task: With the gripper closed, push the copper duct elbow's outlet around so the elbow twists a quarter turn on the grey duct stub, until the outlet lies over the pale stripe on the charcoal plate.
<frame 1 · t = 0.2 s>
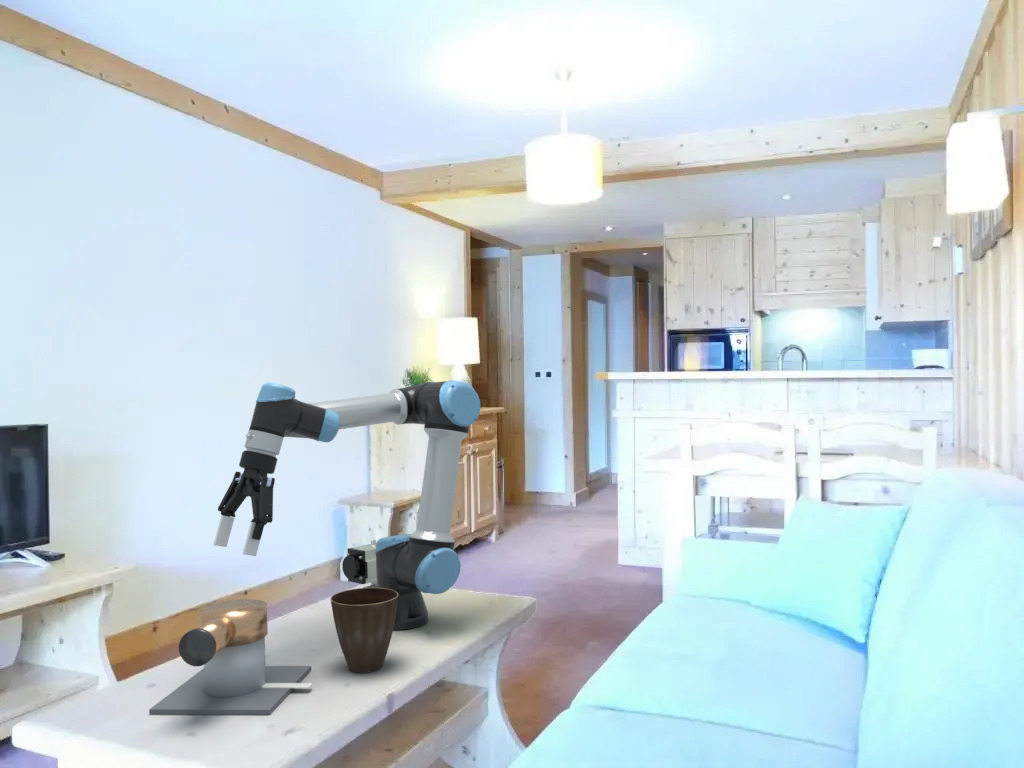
hand: (234, 550, 166), 29 cm above the table, tool tilted 20°, fingers open, 13 cm apart
ball valve: (376, 601, 232), on the table
copper elbow: (223, 629, 158), point 14 cm above the table, hinge at 0.0°
plant pot: (366, 668, 175), on the table
duct stub: (235, 690, 163), on the table
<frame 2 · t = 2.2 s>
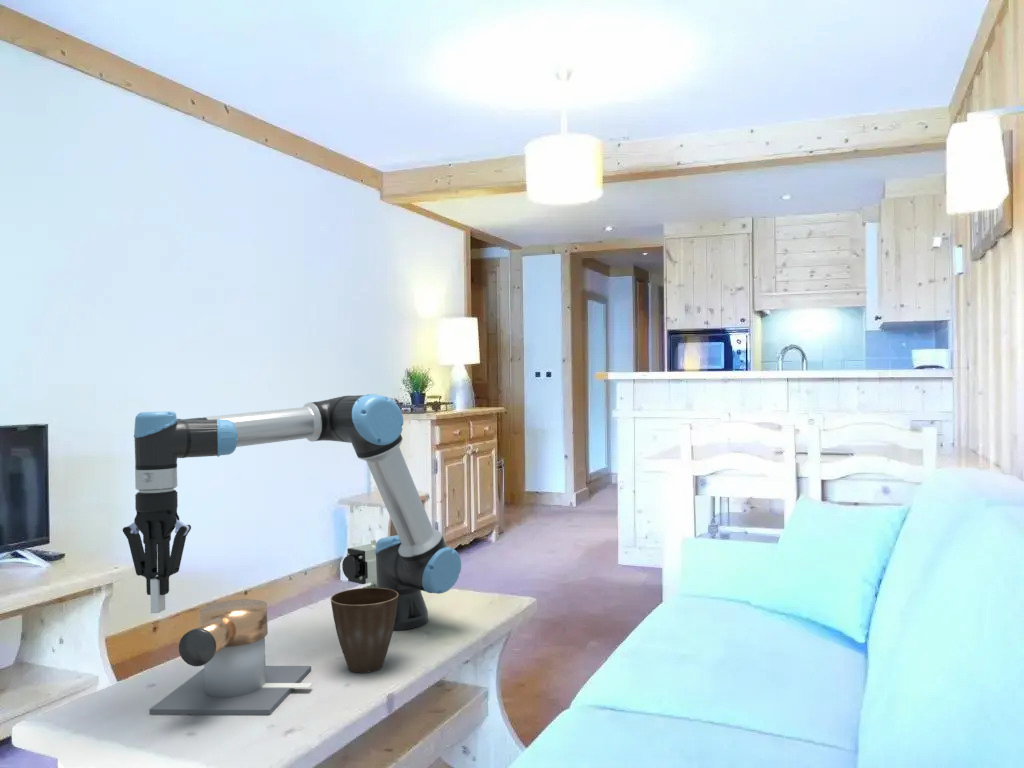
hand: (158, 611, 153), 20 cm above the table, tool pointing down, fingers closed
nothing on the table moved.
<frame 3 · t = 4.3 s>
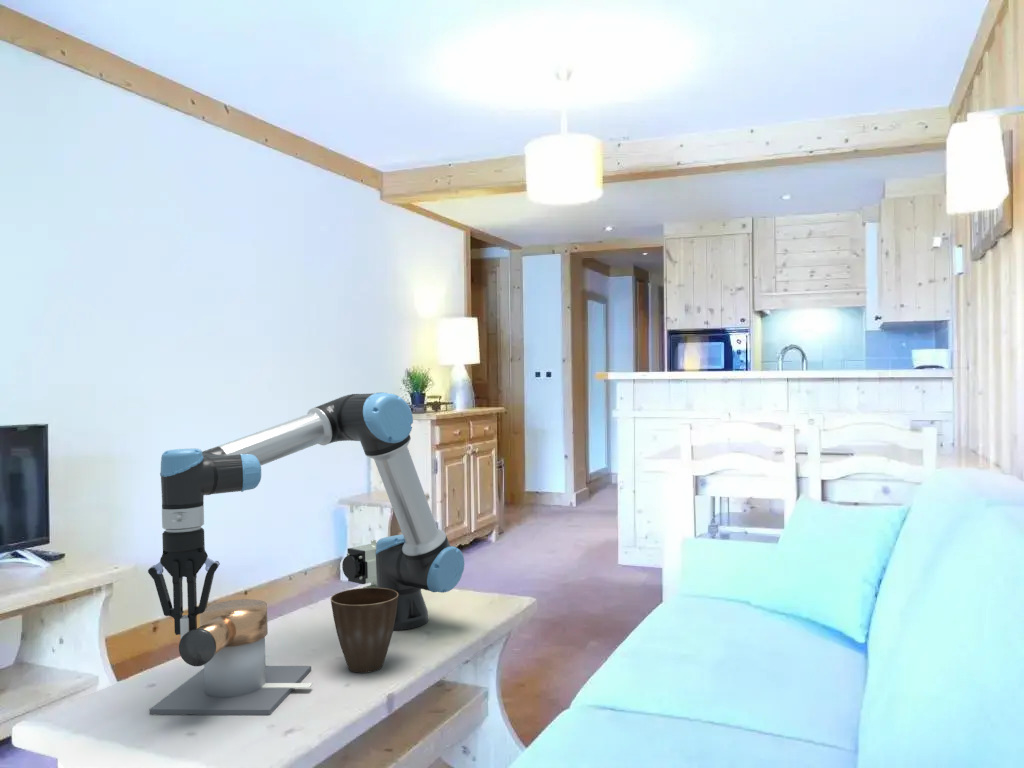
hand: (186, 650, 152), 12 cm above the table, tool pointing down, fingers closed
copper elbow: (223, 629, 158), point 14 cm above the table, hinge at 0.0°, touching gripper
everything else where it was.
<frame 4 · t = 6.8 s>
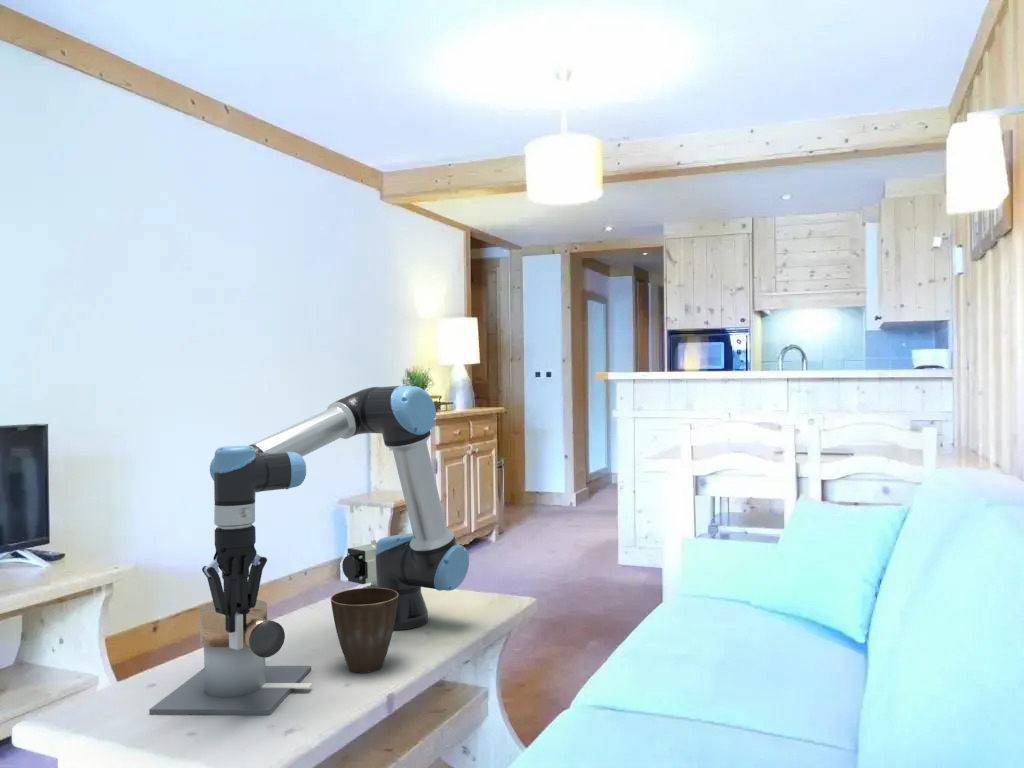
hand: (236, 647, 152), 13 cm above the table, tool pointing down, fingers closed
copper elbow: (243, 627, 159), point 14 cm above the table, hinge at 46.0°, touching gripper
everything else where it was.
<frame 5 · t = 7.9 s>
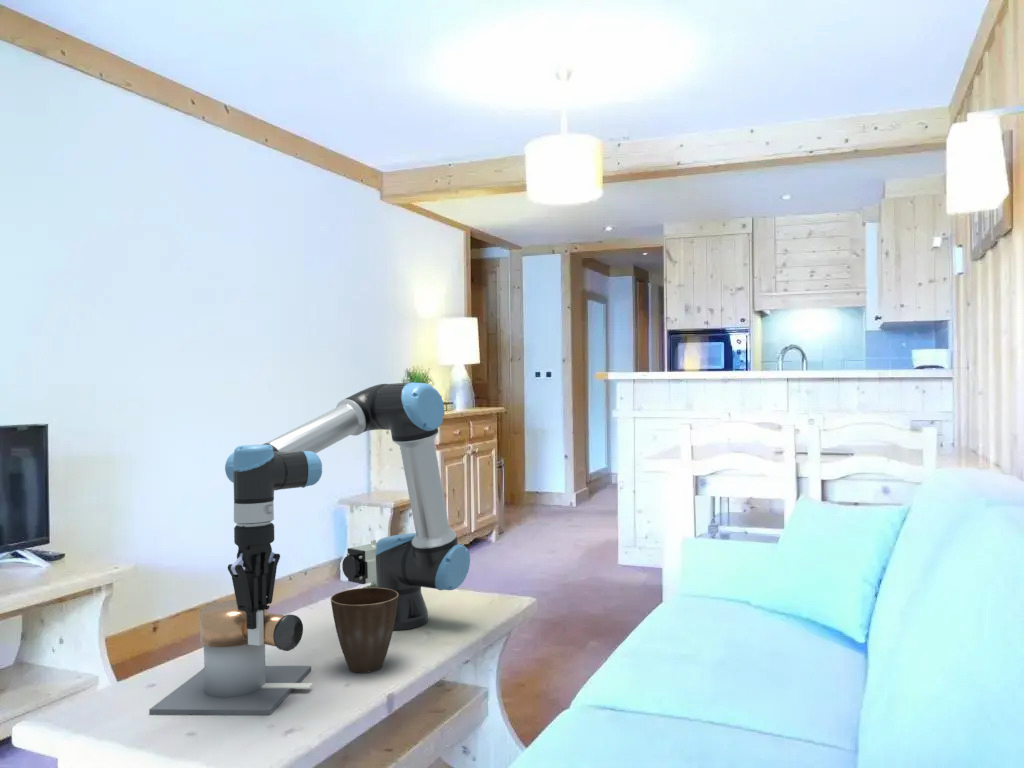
hand: (255, 644, 153), 13 cm above the table, tool pointing down, fingers closed
copper elbow: (250, 625, 160), point 14 cm above the table, hinge at 63.2°, touching gripper
everything else where it was.
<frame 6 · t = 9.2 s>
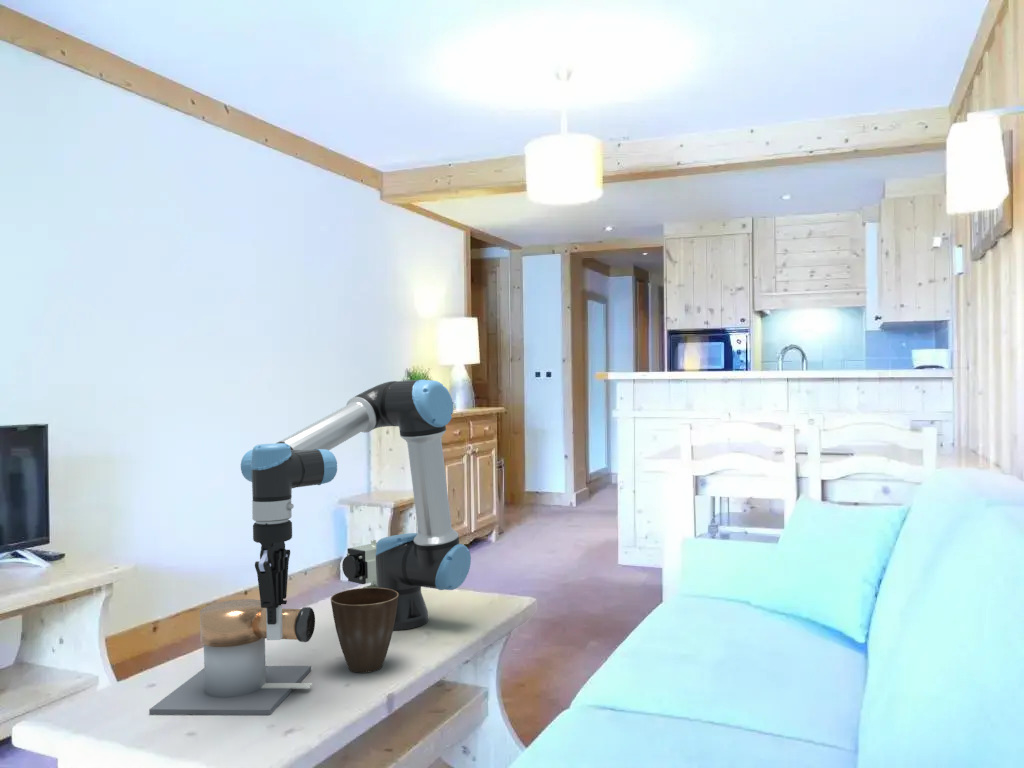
hand: (274, 638, 157), 13 cm above the table, tool pointing down, fingers closed
copper elbow: (255, 622, 162), point 14 cm above the table, hinge at 83.1°, touching gripper
everything else where it was.
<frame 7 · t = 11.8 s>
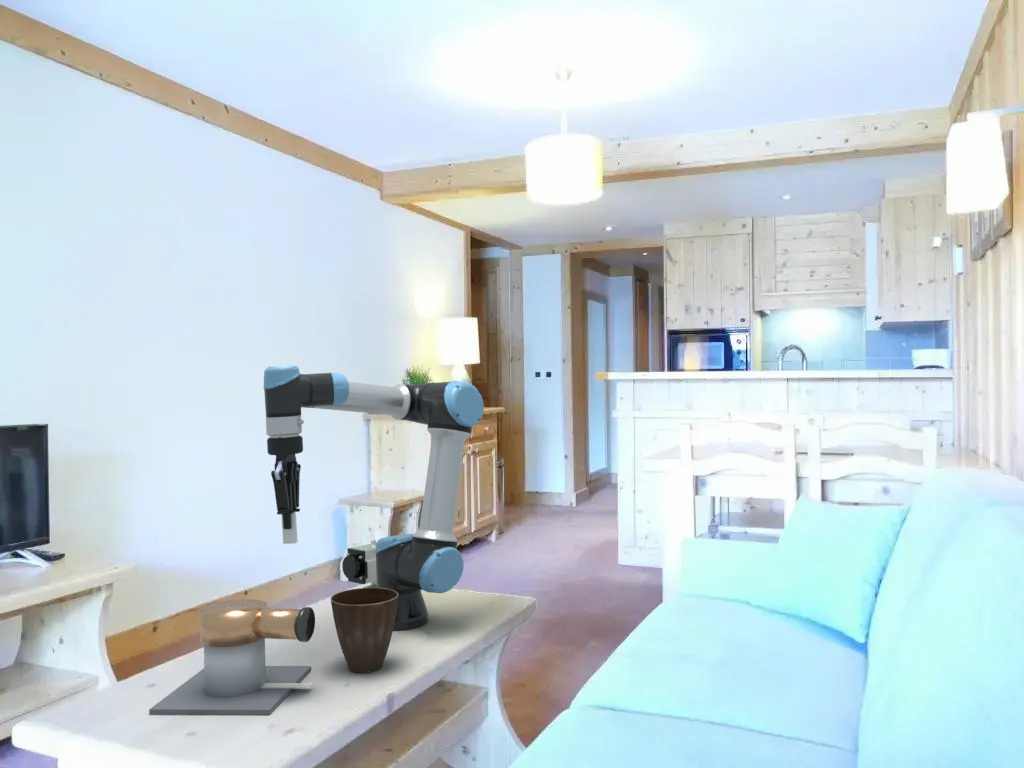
hand: (290, 542, 172), 29 cm above the table, tool pointing down, fingers closed
copper elbow: (255, 622, 162), point 14 cm above the table, hinge at 83.2°
everything else where it was.
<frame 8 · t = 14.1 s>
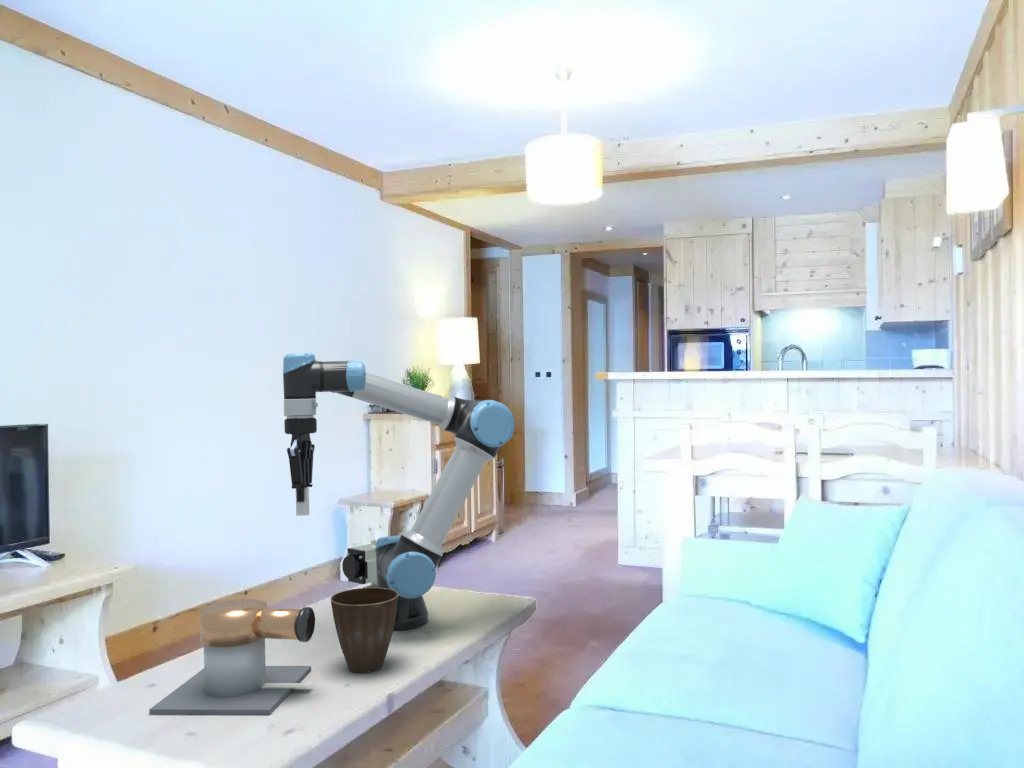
hand: (302, 514, 189), 32 cm above the table, tool pointing down, fingers closed
nothing on the table moved.
at the end: copper elbow at +83° (first picture: +0°) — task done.
